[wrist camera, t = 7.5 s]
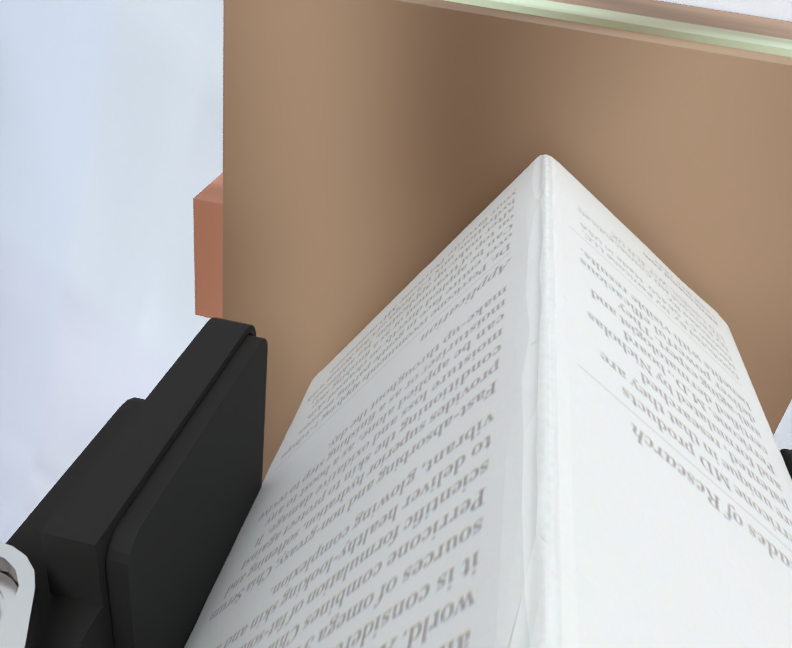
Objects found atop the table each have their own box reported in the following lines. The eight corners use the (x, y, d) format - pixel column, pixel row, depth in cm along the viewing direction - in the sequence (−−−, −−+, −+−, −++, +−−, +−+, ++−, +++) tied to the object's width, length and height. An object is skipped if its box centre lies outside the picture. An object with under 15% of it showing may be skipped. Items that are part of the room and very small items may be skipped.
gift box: (837, 23, 14) (959, 85, 10) (667, 438, 19) (698, 593, 15) (283, -65, 15) (177, -44, 11) (266, 353, 20) (190, 477, 16)
